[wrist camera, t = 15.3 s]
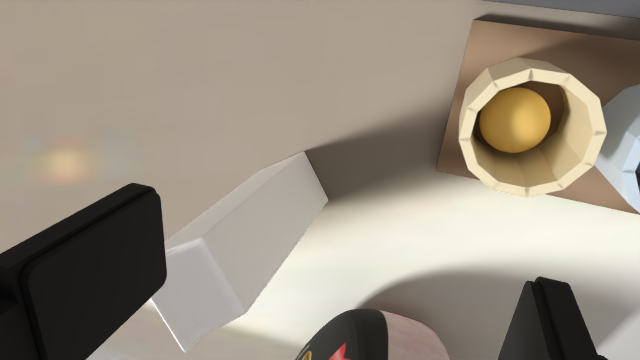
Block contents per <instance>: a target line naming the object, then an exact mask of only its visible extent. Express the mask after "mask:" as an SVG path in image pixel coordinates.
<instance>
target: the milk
mask: <svg viewBox="0 0 640 360" xmlns="http://www.w3.org/2000/svg"><path fill="white" fill-rule="evenodd" d="M327 202H328V198H327V196H326V194H325V192H324V190H323V188H322V186H321V184H320V182H319V180H318V178H317V176H316V174H315V172H314V170H313V168H312V166H311V164H310V162H309V160H308V158H307V156H306V154H305V152H304V151H303V152H301V153H298V154H296V155H294V156H291V157H289V158H287V159H284V160H282V161H280V162H277V163H275V164H273V165H270V166H268V167H266V168H264V169H261V170H259V171H258V172H257V173H255V174H254V175H253V176H251V177H250V178H249V179H247V180H246V181H245V182H243V183H242V184H241V185H239V186H238V187H237V188H235V189H234V190H233V191H231V192H230V193H229V194H227V195H226V196H225V197H223V198H222V199H221V200H219V201H218V202H217V203H215V204H214V205H213V206H211V207H210V208H209V209H207V210H206V211H205V212H203V213H202V214H201V215H199V216H198V217H197V218H196V219H194V220H193V221H192V222H190V223H189V224H188V225H186V226H185V227H184V228H182V229H181V230H180V231H178V232H177V233H176V234H174V235H173V236H172V237H170V238H169V239H168V240H166V241H165V242H164V244H165V255H166V266H167V278H166V281H165V283H164V285H163V286H162V287H161V288H160V289H159V290H158V291H157V292H156V293H155V294H154V295H153V296H152V297H151V298H150V299H151V301H152V303H153V304H154V306H155V307H156V309H157V310H158V312H159V314H160V315H161V317H162V318H163V320H164V322H165V323H166V325H167V326H168V328H169V329H170V331H171V333H172V334H173V336H174V337H175V339H176V340H177V342H178V344H179V345H180V347H181V348H182V350H183V351H184V352H188V351H190V350H191V349H192V348H193V346H194V345H195V344H196V343H197V342H198V340H199V339H200V338H201V337H203V336H205V335H207V334H209V333H210V332H212V331H214V330H216V329H218V328H220V327H222V326H223V325H225V324H227V323H229V322H231V321H233V320H234V319H236V318H238V317H240V316H242V315H244V314H245V313H246V312H247V311H248V310H249V308H250V307H251V306H252V304H253V303H254V302H255V300H256V299H257V297H258V296H259V295H260V293H261V292H262V291H263V289H264V288H265V287H266V285H267V284H268V282H269V281H270V280H271V278H272V277H273V276H274V274H275V273H276V272H277V270H278V269H279V267H280V266H281V265H282V263H283V262H284V261H285V259H286V258H287V257H288V255H289V254H290V252H291V251H292V250H293V248H294V247H295V246H296V244H297V243H298V242H299V240H300V239H301V237H302V236H303V235H304V233H305V232H306V231H307V229H308V228H309V227H310V225H311V224H312V222H313V221H314V220H315V218H316V217H317V216H318V214H319V213H320V212H321V210H322V209H323V207H324V206H325V205H326V203H327Z"/></svg>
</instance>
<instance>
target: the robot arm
mask: <svg viewBox="0 0 640 360" xmlns="http://www.w3.org/2000/svg"><path fill="white" fill-rule="evenodd" d="M166 278H167V266H166V255H165V244H164V233H163V222H162V210H161V200H160V196H159V195H158V194H157V193H156V191H155V189H154V188H153V187H150V186H145V185H141V184H137V183H130V184H128V185H126V186H124V187H122V188H121V189H119V190H117V191H115V192H113V193H111V194H110V195H108V196H106V197H104V198H102V199H100V200H99V201H97V202H95V203H93V204H91V205H89V206H87V207H86V208H84V209H82V210H80V211H78V212H76V213H75V214H73V215H71V216H69V217H67V218H65V219H64V220H62V221H60V222H58V223H56V224H54V225H52V226H51V227H49V228H47V229H45V230H43V231H41V232H40V233H38V234H36V235H34V236H32V237H30V238H29V239H27V240H25V241H23V242H21V243H19V244H18V245H16V246H14V247H12V248H10V249H8V250H6V251H5V252H3V253H1V254H0V360H85V359H87V358H88V357H89V356H90V355H91V354H92V353H93V352H94V351H95V350H96V349H97V348H98V347H99V346H100V345H102V344H103V343H104V342H105V341H106V340H107V339H108V338H109V337H110V336H111V335H112V334H113V333H114V332H115V331H116V330H117V329H118V328H119V327H120V326H121V325H123V324H124V323H125V322H126V321H127V320H128V319H129V318H130V317H131V316H132V315H133V314H134V313H135V312H136V311H137V310H138V309H139V308H140V307H141V306H142V305H144V304H145V303H146V302H147V301H148V300H149V299H150V298H151V297H152V296H153V295H154V294H155V293H156V292H157V291H158V290H159V289H160V288H161V287H162V286H163V285H164V283H165V281H166ZM498 360H608V359H607V358H605V357H604V356H601V355H598V354H597V352H596V349H595V347H594V344H593V342H592V339H591V337H590V335H589V332H588V330H587V327H586V325H585V322H584V320H583V317H582V315H581V312H580V310H579V307H578V305H577V302H576V300H575V297H574V295H573V292H572V290H571V287H570V285H569V284H568V283H565V282H561V281H557V280H552V279H548V278H544V277H537V279H536V280H535V282H532V281H527V282H526V283H525V285H524V288H523V290H522V293H521V296H520V299H519V301H518V304H517V307H516V310H515V313H514V315H513V318H512V321H511V324H510V326H509V329H508V332H507V335H506V338H505V340H504V343H503V346H502V349H501V352H500V354H499V357H498Z"/></svg>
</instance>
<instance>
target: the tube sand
mask: <svg viewBox="0 0 640 360" xmlns="http://www.w3.org/2000/svg"><path fill="white" fill-rule="evenodd" d="M530 80H533V81H539V82H546V83H552V84H558V85H559V86H560V90H561V94H562V98H563V102H564V106H565V110H564V113H563V115H562V118H561V121H560V124H559V126H558V129H557V131H556V132H555V133H554V134H553V135H551V136H550V137H549V138H548V139H547V140H546V141H544V142H543V143H542V144H541V145H540V146H539V147H536V148H533V149H529V150H526V151H523V152H518V153H508V152H503V151H499V150H494V149H491V148H490V147H488V146H487V145H486V144H485V143H484V142H482V141H481V140H480V139H479V138H478V137H477V136H475V134H474V131H473V126H474V122H475V119H476V115H477V112H478V111H479V110H480V109H481V108H482V107H483V106H484V105H485V104H486V103H487V102H488V101H489V100H490V99H491V98H492V97H493V96H494V95H495V94H496V93H497V92H498V91H499V90H502V89H505V88H508V87H512V86H515V85H518V84H521V83H524V82H527V81H530ZM606 134H607V130H606V126H605V121H604V117H603V113H602V108H601V104H600V100H599V98H598V97H597V96H596V95H595V94H594V93H592V92H591V91H590V90H589V89H588V88H586V87H585V86H584V85H583V84H582V83H581V82H579V81H578V80H577V79H576V78H575V77H574V76H572V75H571V74H570V73H568V72H566V71H564V70H562V69H560V68H558V67H556V66H554V65H552V64H551V63H549V62H546V61H540V60H533V59H526V58H519V57H515V58H512V59H510V60H507V61H504V62H501V63H498V64H496V65H493V66H490V67H487V68H486V69H485V70H484V71H483V72H482V73H481V74H480V75H479V76H478V77H477V78H476V79H475V80H474V82H473V83H472V84H471V85H470V86H469V87H468V88H467V89H466V92H465V96H464V100H463V104H462V107H461V111H460V115H459V142H460V145H461V149H462V152H463V155H464V158H465V161H466V164H467V167H468V170H470V171H471V172H472V173H473V174H474V175H475V176H477V177H478V178H479V179H480V180H481V181H482V182H484V183H485V184H486V185H487V186H488V187H490V188H491V189H492V190H494V191H499V192H503V193H508V194H512V195H517V196H521V197H526V198H528V197H532V196H537V195H541V194H546V193H550V192H555V191H559V190H563V189H565V188H566V187H567V186H568V185H570V184H571V183H572V182H574V181H575V180H576V179H577V178H579V177H580V176H581V175H583V174H584V173H585V172H586V171H588V170H589V169H590V168H592V167H593V165H594V163H595V161H596V158H597V156H598V153H599V151H600V149H601V146H602V144H603V141H604V139H605V137H606Z"/></svg>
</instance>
